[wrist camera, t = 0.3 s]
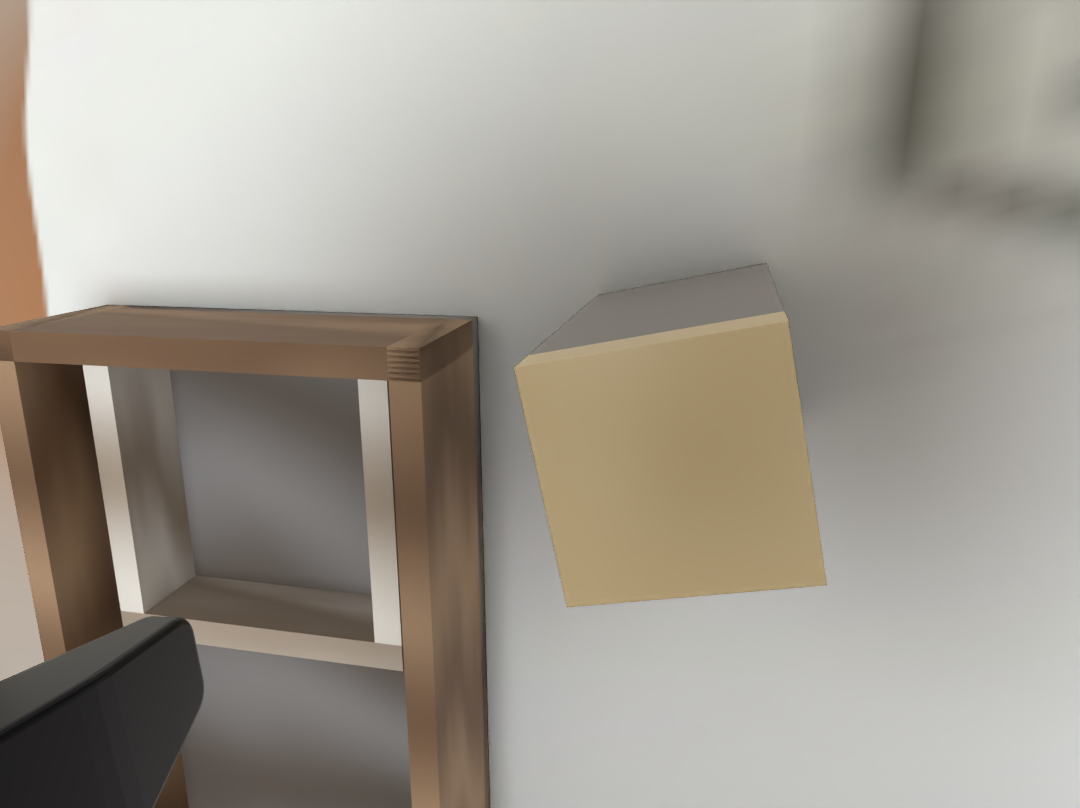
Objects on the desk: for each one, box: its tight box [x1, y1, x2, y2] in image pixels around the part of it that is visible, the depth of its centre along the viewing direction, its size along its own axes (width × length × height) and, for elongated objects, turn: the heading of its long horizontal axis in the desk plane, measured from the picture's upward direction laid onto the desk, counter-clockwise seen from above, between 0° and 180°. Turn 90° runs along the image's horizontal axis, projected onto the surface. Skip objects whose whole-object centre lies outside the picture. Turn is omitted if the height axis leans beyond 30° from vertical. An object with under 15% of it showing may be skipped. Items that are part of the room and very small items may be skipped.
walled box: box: [0, 305, 490, 808], centre depth 25 cm, size 20×12×4 cm, turn 0°
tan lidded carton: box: [514, 263, 827, 607], centre depth 18 cm, size 4×4×9 cm
